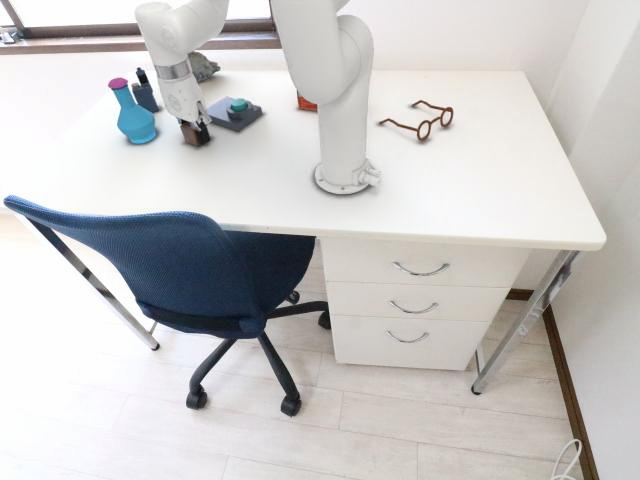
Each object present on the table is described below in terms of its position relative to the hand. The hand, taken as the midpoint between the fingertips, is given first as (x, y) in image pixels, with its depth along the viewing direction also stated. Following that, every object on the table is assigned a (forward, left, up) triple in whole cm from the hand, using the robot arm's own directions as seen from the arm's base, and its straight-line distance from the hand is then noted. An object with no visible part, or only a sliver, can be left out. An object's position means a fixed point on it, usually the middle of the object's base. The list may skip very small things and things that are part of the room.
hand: (197, 138), depth 96 cm
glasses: (-45, -33, -1) cm, 56 cm away
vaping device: (+24, -4, -1) cm, 24 cm away
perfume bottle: (+15, +6, -1) cm, 16 cm away
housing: (0, -13, -1) cm, 13 cm away
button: (-4, -13, +3) cm, 14 cm away
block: (0, 0, 0) cm, 0 cm away
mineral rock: (+25, -24, -1) cm, 35 cm away
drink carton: (-20, -31, -1) cm, 37 cm away
